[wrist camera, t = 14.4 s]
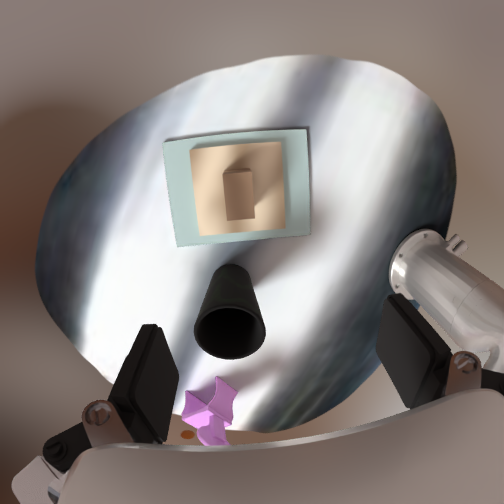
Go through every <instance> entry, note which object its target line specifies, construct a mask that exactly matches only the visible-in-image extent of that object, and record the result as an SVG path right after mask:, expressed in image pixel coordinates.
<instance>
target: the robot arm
mask: <svg viewBox="0 0 504 504" xmlns="http://www.w3.org/2000/svg"><path fill="white" fill-rule="evenodd" d="M459 241H460V238H459V236H458V235H457V234H455V235H454V236H453V237H452V238H451V239H450V240H449V241H444V239H443V237H442V236H441V235H440V234H438V233H437V232H435V231H433V230H430V229H421V230H417V231H415V232H413V233H411V234H410V235H409V236H407V237H406V238H405V239H404V240H403V241H402V242H401V243H400V245H399V246H398V248H397V249H396V251H395V253H394V255H393V257H392V260H391V263H390V267H389V281H390V285H391V287H392V289H393V290H394V292H395V293H396V294H392V295H389V296H388V297H387V299H385V300H384V304H383V311H382V317H381V322H380V328H379V333H378V338H377V343H376V352H377V355H378V357H379V358H380V360H381V362H382V364H383V366H384V367H385V369H386V371H387V373H388V374H389V376H390V378H391V380H392V382H393V384H394V386H395V387H396V389H397V391H398V393H399V395H400V397H401V399H402V401H403V403H404V405H405V406H406V407H407V408H410V410H408V411H405V412H402V413H399V414H396V415H394V416H390V417H387V418H384V419H381V420H378V421H375V422H371V423H367V424H364V425H360V426H357V427H353V428H348V429H345V430H340V431H336V432H331V433H326V434H321V435H316V436H311V437H305V438H299V439H292V440H285V441H277V442H267V443H257V444H243V445H220V446H192V445H191V446H190V445H165V444H162V443H163V442H165V441H166V440H167V435H168V430H169V425H170V420H171V415H172V410H173V405H174V400H175V395H176V391H177V386H178V381H179V373H178V370H177V367H176V365H175V362H174V360H173V357H172V355H171V352H170V349H169V347H168V344H167V341H166V339H165V336H164V333H163V330H162V328H161V327H158V326H157V325H156V324H144V325H142V327H141V329H140V331H139V333H138V335H137V337H136V339H135V341H134V344H133V346H132V348H131V350H130V352H129V354H128V356H127V357H126V358H125V360H124V363H123V365H122V367H121V369H120V372H119V374H118V376H117V378H116V381H115V383H114V385H113V388H112V390H111V393H110V395H109V398H108V400H96V401H93V402H91V403H89V404H88V405H87V406H86V407H85V408H84V410H83V412H82V416H81V418H82V422H81V423H79V424H77V425H75V426H73V427H71V428H69V429H68V430H66V431H64V432H62V433H60V434H58V435H56V436H54V437H52V438H50V439H49V440H47V442H46V443H45V445H44V447H43V456H42V457H40V456H37V457H36V458H35V459H34V460H33V461H32V462H31V463H30V464H28V465H27V466H26V467H25V468H24V469H23V470H22V471H21V472H20V473H18V474H17V475H16V476H15V477H14V479H13V481H12V489H13V492H14V494H15V496H16V497H17V499H18V500H19V502H20V503H21V504H504V289H503V288H501V287H500V286H499V285H498V284H496V283H495V282H494V281H492V280H490V279H489V278H488V277H486V276H485V275H484V274H482V273H481V272H479V271H478V270H476V269H475V268H474V267H472V266H471V265H469V264H468V263H467V262H465V261H463V260H462V259H461V258H459V256H460V255H462V254H463V253H464V252H465V251H466V250H467V249H468V246H467V244H466V242H465V241H463V240H462V241H461V242H459ZM458 242H459V243H458ZM457 243H458V244H457ZM455 244H457V245H456V246H455V248H454V249H453V250H452V247H453V246H454V245H455ZM407 299H415V300H416V301H417V302H418V303H419V304H420V305H421V306H422V307H423V308H424V309H425V311H426V312H427V313H428V314H429V315H430V316H431V317H432V318H433V319H434V320H435V321H436V322H437V323H438V325H439V326H440V327H441V328H442V329H443V330H444V331H445V332H446V333H447V335H448V336H449V337H450V338H451V339H452V340H453V341H454V342H455V344H456V345H457V346H458V347H459V348H461V349H462V350H464V351H459V352H456V353H455V354H454V355H453V354H452V353H451V352H450V351H451V349H450V348H449V346H448V345H447V344H446V343H445V342H444V340H443V339H442V338H441V337H440V336H439V334H438V333H437V332H436V331H435V330H434V329H433V328H432V326H431V325H430V324H429V323H428V322H427V321H426V319H424V317H423V316H422V315H421V314H420V313H419V312H418V310H417V309H416V308H415V307H414V306H413V305H412V304H411V303H410V302H409V301H408V300H407ZM488 351H490V356H489V359H488V360H487V361H486V363H485V364H484V366H483V368H482V366H481V361H480V359H479V358H478V357H477V356H476V355H475V354H473V353H480V352H488Z"/></svg>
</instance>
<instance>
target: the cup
mask: <svg viewBox="0 0 504 504" xmlns="http://www.w3.org/2000/svg"><path fill="white" fill-rule="evenodd" d="M194 336H195V340H196V341H197V343H198V345H199V346H200V347H201V348H202V349H203V350H204V351H205V352H207V353H208V354H210V355H212V356H214V357H217V358H221V359H230V360H234V359H241V358H244V357H247V356H249V355H251V354H253V353H254V352H256V351H257V350H258V349H259V348H260V347H261V345H262V344H263V342H264V340H265V336H266V328H265V325H264V322H263V318H262V315H261V312H260V309H259V306H258V302H257V299H256V296H255V292H254V289H253V286H252V283H251V279H250V276H249V274H248V273H247V271H246V270H245V269H244V268H242V267H240V266H238V265H232V264H229V265H224V266H222V267H220V268H219V269H217V270H216V271H215V273H214V274H213V277H212V279H211V282H210V285H209V287H208V290H207V293H206V295H205V298H204V301H203V303H202V306H201V309H200V312H199V314H198V317H197V320H196V323H195V325H194Z"/></svg>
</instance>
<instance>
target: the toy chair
mask: <svg viewBox="0 0 504 504" xmlns="http://www.w3.org/2000/svg"><path fill="white" fill-rule="evenodd" d="M215 378H216V391H215V395H214V397H213V398H212V400H211V401H210V402H209V404H208V405H207V404H205V403H204V402H202V401H201V400H199V399H198V398H196V397H195V396H194V395H192V394H191V393H189V392H188V391H185V395H186V400H185V407H184V410H183V412H182V414H181V415H182V420H183V421H185V422H186V423H188V424H190V425H192V426H194V427H196V428H197V429H198V431H197V436H198V438H199V440H200V441H201V442H202V443H203V444H204V445H205V446H220V445H230V444H229V443H228V442H227V441H226V435H225V427H227V426H230V425H232V420H233V410H232V404H233V400H234V398H235V396H236V395H237V393H238V392H237V391H235V390H234V389H233V388H231V387H230V386H229V385H228V384H226V383H225V382H224V381H222V380H221V379H220V378H219V377H215Z"/></svg>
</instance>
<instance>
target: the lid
mask: <svg viewBox="0 0 504 504" xmlns="http://www.w3.org/2000/svg"><path fill="white" fill-rule="evenodd" d="M189 153H190V162H191V172H192V180H193V189H194V197H195V205H196V213H197V220H198V228H199V235H200V236H206V235H217V234H228V233H238V232H250V231H261V230H273V229H285V228H286V225H285V202H284V182H283V164H282V149H281V142H264V143H249V144H237V145H226V146H216V147H208V148H199V149H192V150H189Z"/></svg>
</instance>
